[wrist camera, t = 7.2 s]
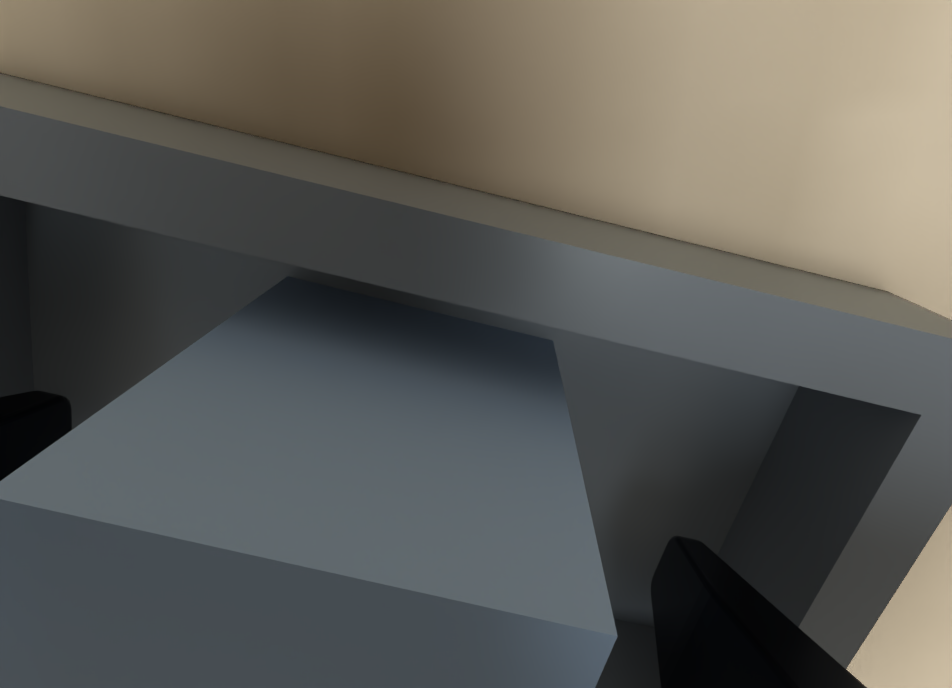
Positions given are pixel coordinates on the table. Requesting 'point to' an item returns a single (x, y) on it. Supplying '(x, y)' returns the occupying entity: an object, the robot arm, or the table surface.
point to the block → (313, 515)
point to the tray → (517, 309)
